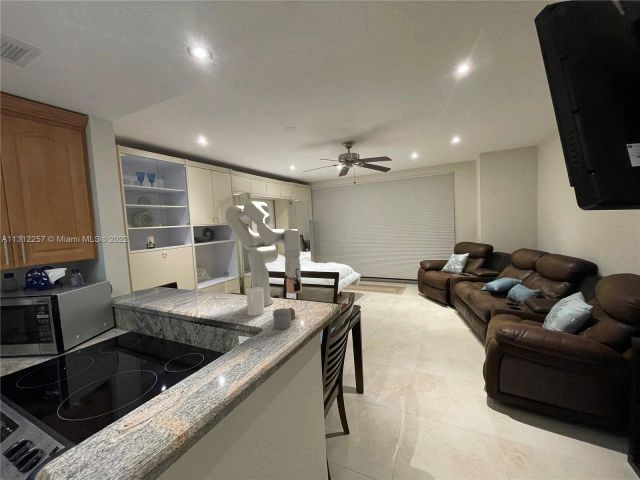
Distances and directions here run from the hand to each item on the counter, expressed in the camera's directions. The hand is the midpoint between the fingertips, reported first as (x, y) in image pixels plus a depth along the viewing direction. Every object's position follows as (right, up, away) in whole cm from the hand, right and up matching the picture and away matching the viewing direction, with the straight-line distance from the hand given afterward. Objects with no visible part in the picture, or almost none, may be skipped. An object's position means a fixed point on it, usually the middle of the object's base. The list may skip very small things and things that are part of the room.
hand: (294, 289), depth 126 cm
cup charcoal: (-3, -13, -17) cm, 21 cm away
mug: (-20, -12, 0) cm, 23 cm away
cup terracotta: (0, -1, 0) cm, 1 cm away
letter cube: (-1, -12, -8) cm, 14 cm away
